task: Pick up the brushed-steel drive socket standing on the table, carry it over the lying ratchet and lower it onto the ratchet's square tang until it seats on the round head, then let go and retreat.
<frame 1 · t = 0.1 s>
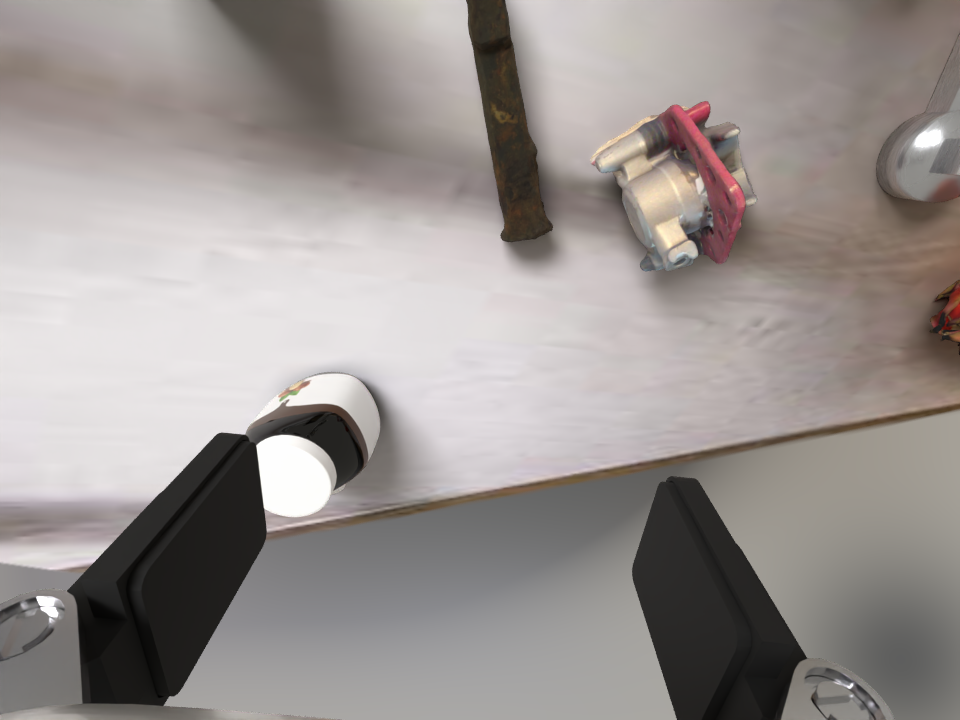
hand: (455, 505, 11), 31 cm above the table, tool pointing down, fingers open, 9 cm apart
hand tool: (495, 108, 36), on the table
ratchet: (953, 79, 34), on the table
spread jar: (332, 421, 47), on the table
brake caliper: (666, 185, 37), on the table
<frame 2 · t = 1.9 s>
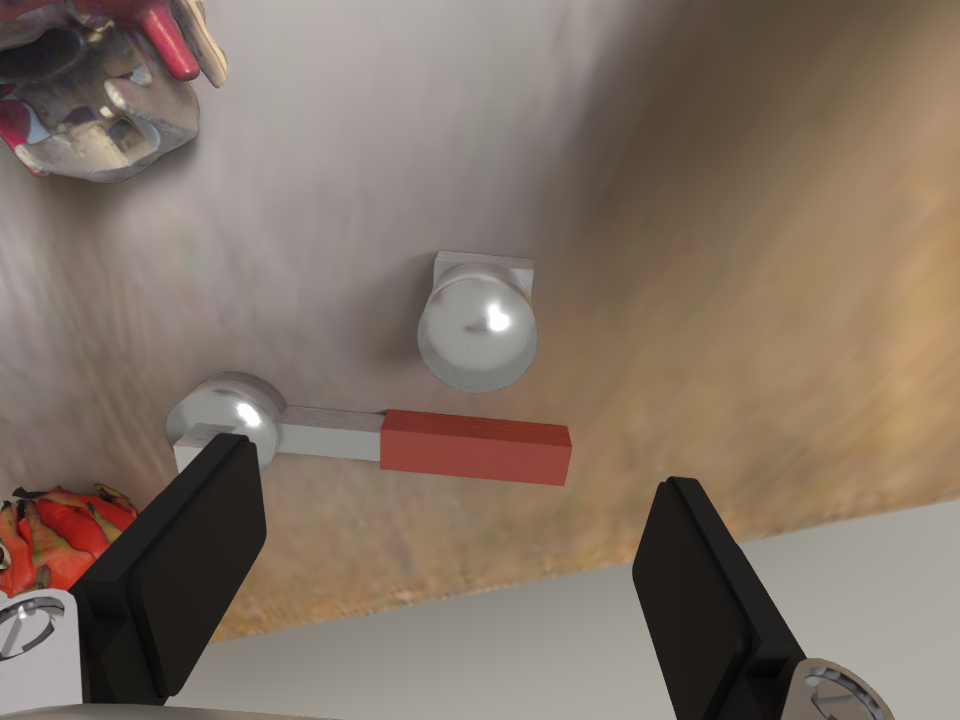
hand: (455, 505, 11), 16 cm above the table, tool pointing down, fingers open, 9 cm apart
ratchet: (323, 422, 30), on the table
socket: (481, 298, 26), on the table
brake caliper: (111, 58, 22), on the table
dragon fruit: (120, 519, 34), on the table
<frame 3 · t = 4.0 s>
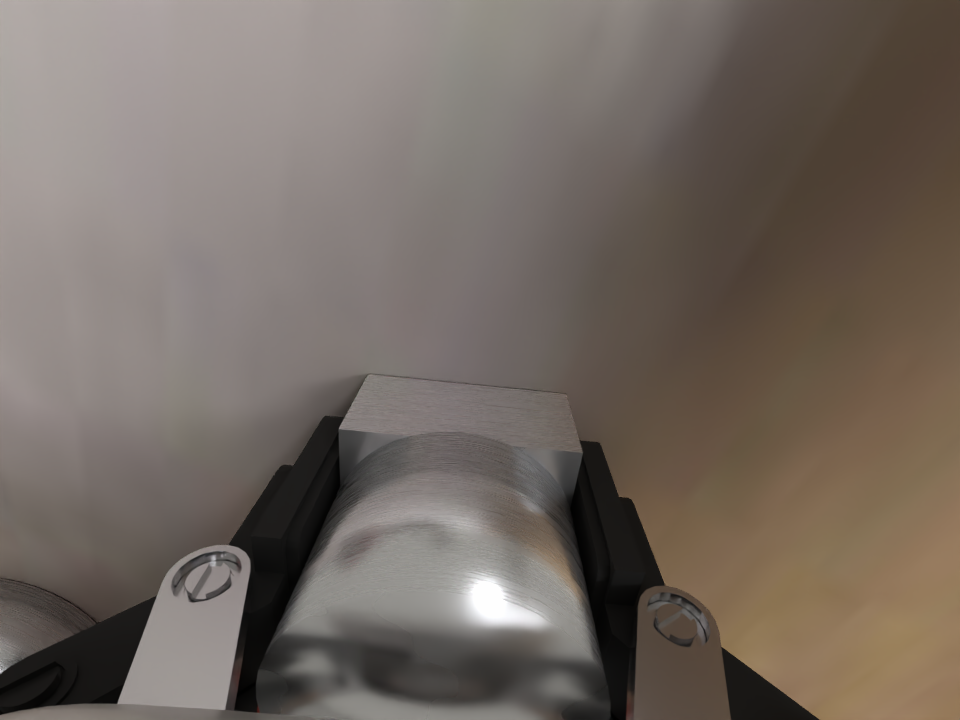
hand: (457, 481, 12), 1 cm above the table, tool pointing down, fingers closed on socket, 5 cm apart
ratchet: (173, 654, 16), on the table
socket: (459, 464, 12), on the table, touching gripper
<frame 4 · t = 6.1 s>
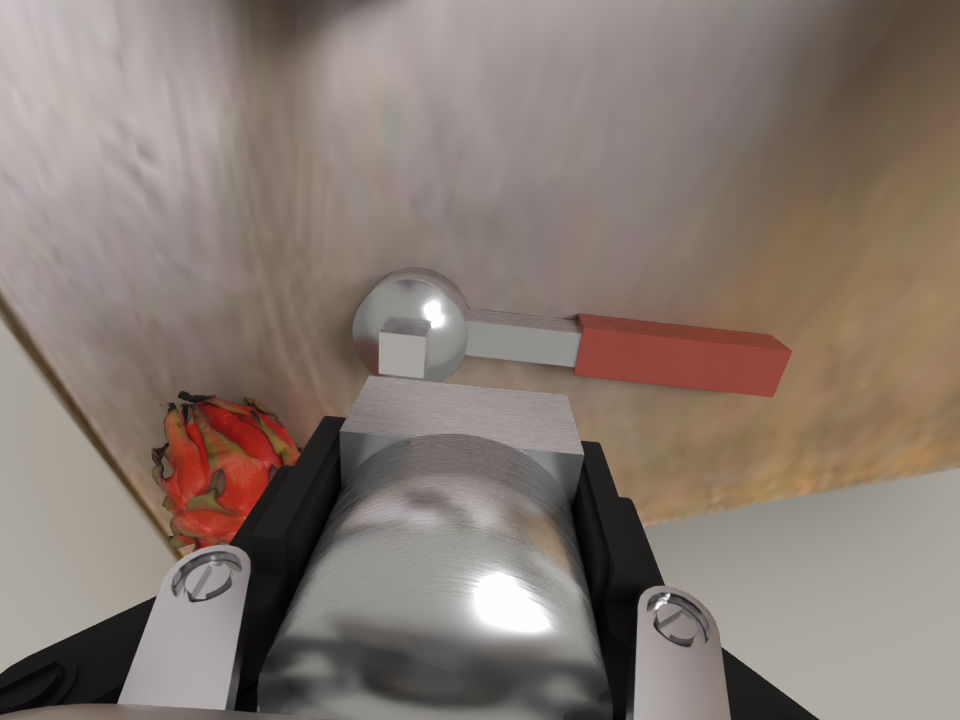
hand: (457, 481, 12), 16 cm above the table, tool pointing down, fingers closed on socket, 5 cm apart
ratchet: (504, 328, 27), on the table
socket: (460, 466, 12), point 16 cm above the table, touching gripper
dragon fruit: (262, 441, 32), on the table
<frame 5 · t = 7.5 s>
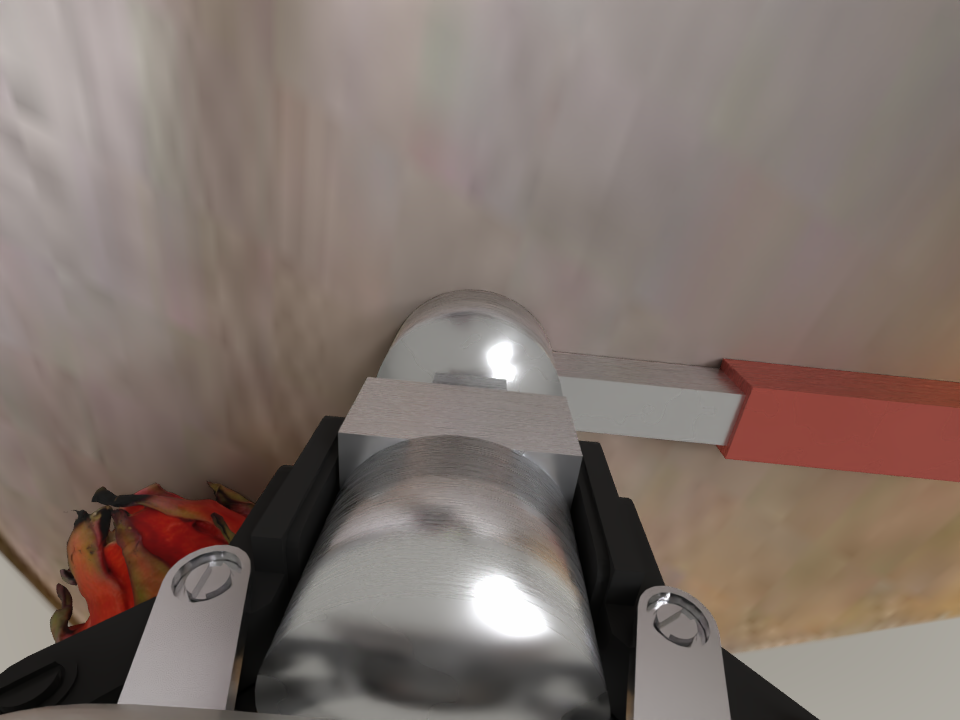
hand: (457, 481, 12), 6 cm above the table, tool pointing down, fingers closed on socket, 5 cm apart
ratchet: (605, 381, 18), on the table
socket: (459, 467, 12), point 6 cm above the table, touching gripper
dragon fruit: (237, 537, 22), on the table
when the fingers open (4 cm above the table, at t = 8.3 s): socket stays where it is, resting on ratchet.
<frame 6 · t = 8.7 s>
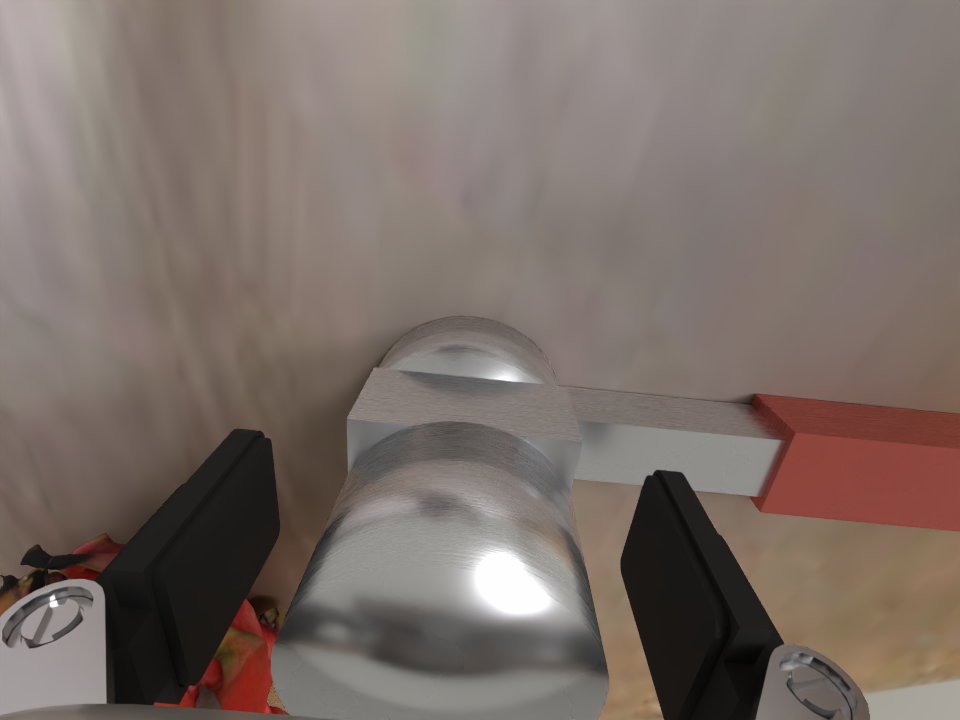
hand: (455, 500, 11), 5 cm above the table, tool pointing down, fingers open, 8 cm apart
ratchet: (619, 419, 15), on the table
socket: (462, 456, 13), point 3 cm above the table, touching ratchet
dragon fruit: (204, 586, 20), on the table
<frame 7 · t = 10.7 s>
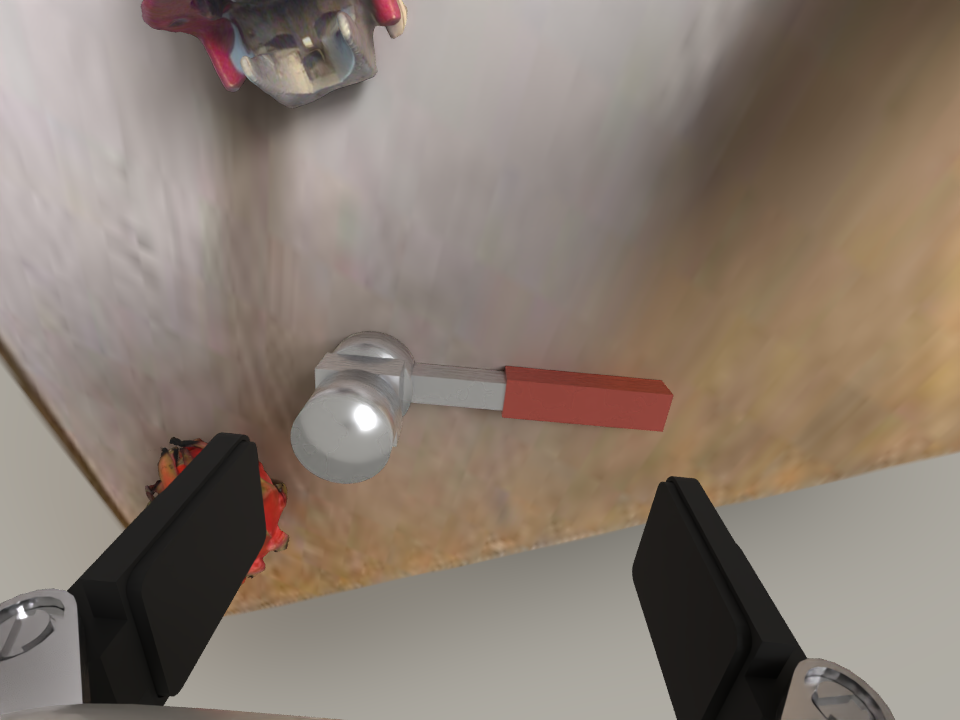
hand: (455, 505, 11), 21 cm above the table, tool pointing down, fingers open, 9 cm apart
ratchet: (445, 378, 33), on the table
socket: (365, 390, 30), point 3 cm above the table, touching ratchet
dragon fruit: (242, 475, 37), on the table
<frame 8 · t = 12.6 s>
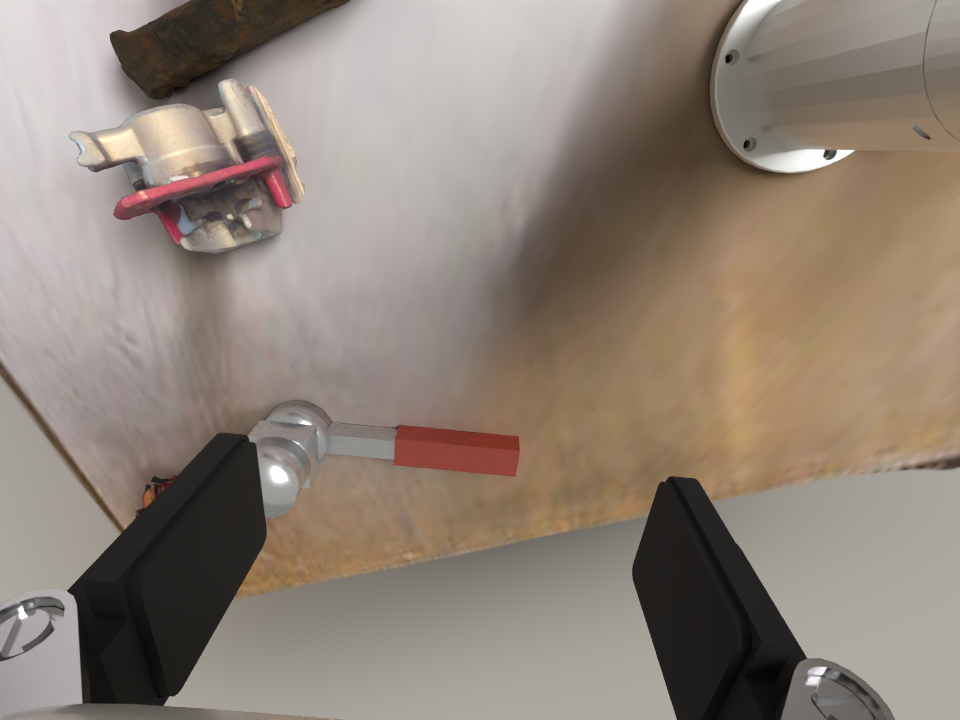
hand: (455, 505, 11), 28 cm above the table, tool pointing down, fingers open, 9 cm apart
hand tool: (272, 5, 31), on the table
ratchet: (355, 433, 44), on the table
socket: (290, 446, 42), point 3 cm above the table, touching ratchet
brake caliper: (231, 176, 35), on the table
dragon fruit: (210, 500, 48), on the table
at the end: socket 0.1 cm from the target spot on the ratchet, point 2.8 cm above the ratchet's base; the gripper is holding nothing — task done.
